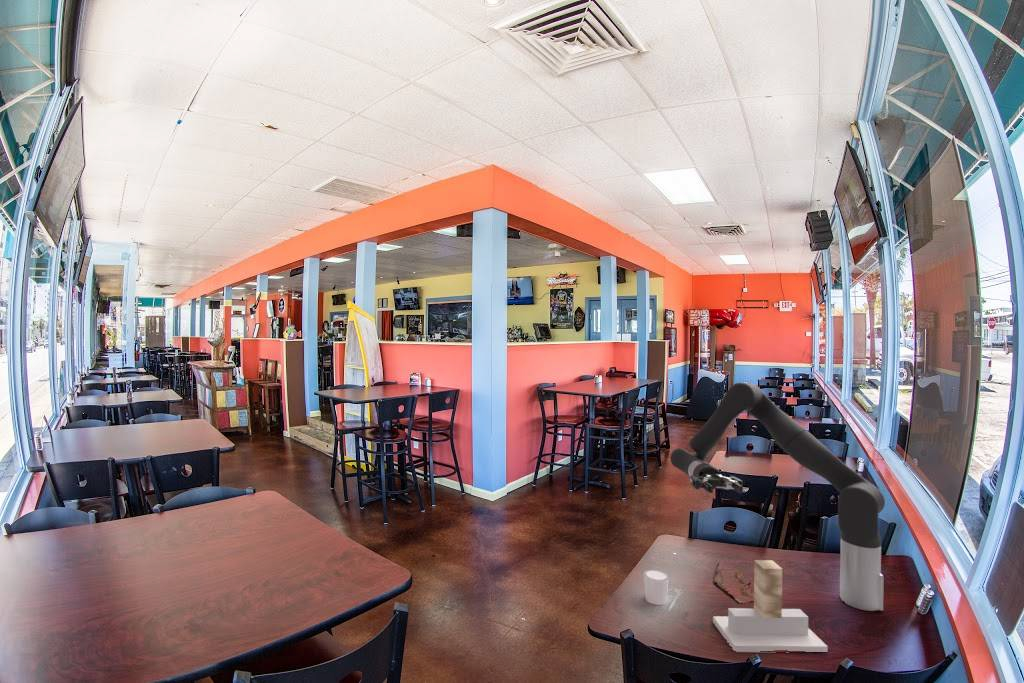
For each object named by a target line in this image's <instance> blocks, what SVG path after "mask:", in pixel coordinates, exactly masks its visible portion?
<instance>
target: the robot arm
mask: <svg viewBox="0 0 1024 683" xmlns="http://www.w3.org/2000/svg"><path fill="white" fill-rule="evenodd" d="M744 411H746V412H748V413H749V414H750V415H752V417H754V418H755V419H756V420H758V422H760V423H761V424H762V425H763V426H764V427H765V429H766V430H767V432H768V433H769V434H770V436H771V437H772V439H773V440H774V442H775V443H776V444H777V445H778V447H780V448H781V449H782V450H783V451H784V452H785V453H786V454H787V455H788V456H789V457H790V458H791V459H793V461H795V462H797V463H798V464H799V465H801V467H803V468H805V469H808V470H809V471H811V472H813V473H815V474H816V475H818V476H820V477H822V478H823V479H824V480H826V481H827V482H829V484H831V486H833V488H835V489H836V490H837V492H839V495H838V501H837V502H838V503H837V504H838V505H837V513H838V514H837V516H838V517H837V518H838V528H839V531H840V562H839V567H840V568H839V570H840V571H839V574H840V575H839V598H841V599H840V600H841V601H842V602H843V601H844V602H845V603H844V602H843V603H844V604H846V605H848V606H851V607H853V608H854V609H857V610H858V609H859V610H862V611H867V612H868V611H869V612H875V611H884V574H882V572H881V568H882V566H881V565H882V562H881V561H882V536H881V534H880V533H879V514H880V512H882V511H883V509H884V508H885V506H886V504H885V503H886V501H885V497H884V495H883V493H882V492H881V490H880V489H879V488H878V487H876V485H874V484H873V483H871V482H870V481H869V480H867V479H866V478H865V477H863V476H862V475H860V474H859V473H858V472H856V471H854V470H853V469H852V468H851V467H849V466H848V465H847V464H846V463H844V462H843V461H842V460H841V459H840V458H839V457H837V455H835V453H833V452H832V451H831V450H830V449H829V448H828V447H826V446H825V445H824V444H823V443H822V442H821V441H820V440H819V439H818V438H816V436H814V435H813V434H812V433H810V431H808V430H807V428H805V427H804V426H802V425H801V424H800V423H799V422H798V421H796V420H795V419H793V417H791V416H790V415H788V414H787V413H786V412H784V411H782V409H780V408H779V407H778V406H777V404H775V403H774V402H773V401H772V400H771V399H770V398H769V397H768V396H767V395H766V394H765V393H764V391H763V390H762V389H761V388H760V387H759V386H757V385H755V384H754V383H751V382H745V381H744V382H742V381H741V382H736V383H734V384H733V385H731V386H730V387H729V389H727V391H726V393H725V395H724V397H723V398H722V400H721V402H720V403H719V405H718V406H717V408H716V409H715V410H714V412H713V414H712V415H711V416H710V417H709V419H708V420H707V421H706V422H705V423H704V424H703V425H702V426H701V428H700V429H699V430H698V431H697V432H696V433H695V435H693V437H692V438H690V441H689V447H690V448H691V449H692V450H693V451H694V453H695V454H693V453H691V452H689V451H687V450H686V449H685V448H682V447H681V448H680V447H679V448H675V449H674V450H672V452H671V454H670V457H669V458H670V459H669V461H670V463H671V465H672V466H673V467H674V468H677V469H679V470H680V472H681V471H682V472H683V473H684V474H686V476H688V477H689V484H690V485H691V486H692V487H693V488H694V489H696V490H699V489H700V488H701V490H703V491H706V492H708V493H710V494H713V493H714V491H713V490H715V489H722V490H723V489H724V490H727V491H728V490H734V491H735V492H736V493H738V494H743V492H744V486H743V485H744V484H743V483H744V482H743V480H741V479H740V478H738V477H736V476H734V475H730V476H729V477H728V476H724V475H722V474H721V472H720V470H718V469H717V468H716V467H714V466H713V465H712V464H710V463H708V462H706V461H705V460H706V457H707V456H708V454H709V453H710V451H712V449H713V448H714V447H715V446H716V445H717V444H718V442H719V441H720V440H721V439H722V438H723V436H724V434H725V433H726V430H727V429H728V427H729V425H730V424H731V422H732V421H733V420H735V419H736V417H738V416H739V415H740V414H741V413H742V412H744Z"/></svg>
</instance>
